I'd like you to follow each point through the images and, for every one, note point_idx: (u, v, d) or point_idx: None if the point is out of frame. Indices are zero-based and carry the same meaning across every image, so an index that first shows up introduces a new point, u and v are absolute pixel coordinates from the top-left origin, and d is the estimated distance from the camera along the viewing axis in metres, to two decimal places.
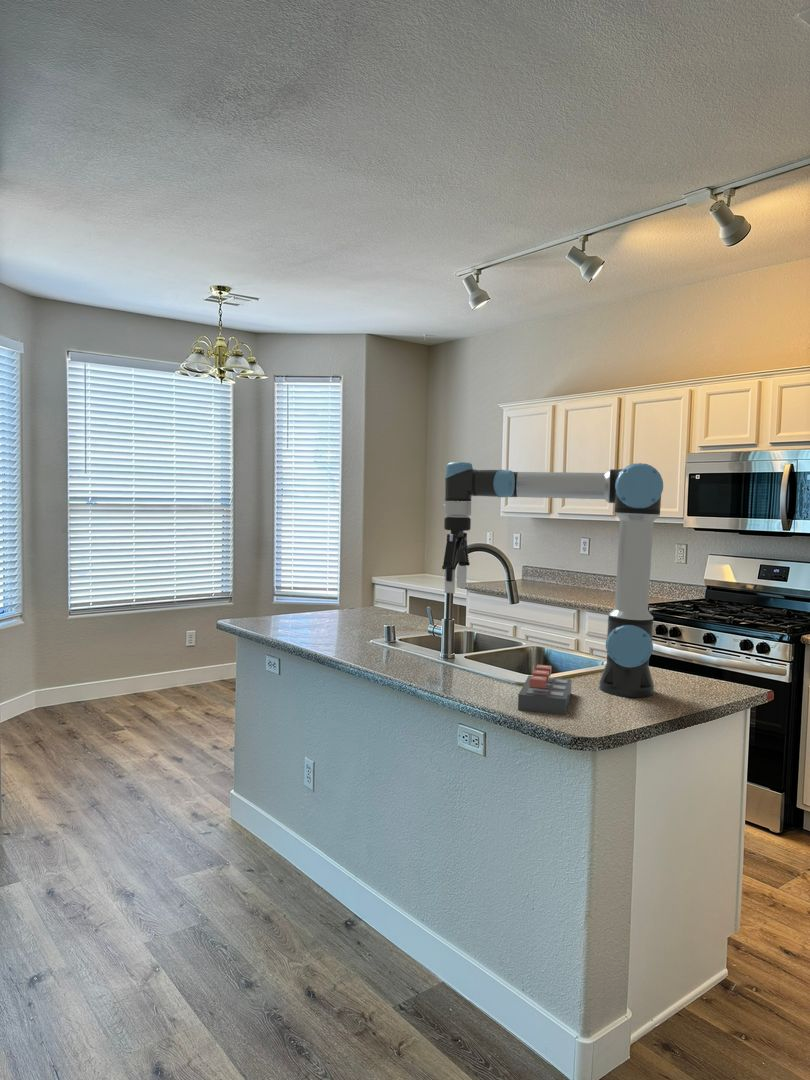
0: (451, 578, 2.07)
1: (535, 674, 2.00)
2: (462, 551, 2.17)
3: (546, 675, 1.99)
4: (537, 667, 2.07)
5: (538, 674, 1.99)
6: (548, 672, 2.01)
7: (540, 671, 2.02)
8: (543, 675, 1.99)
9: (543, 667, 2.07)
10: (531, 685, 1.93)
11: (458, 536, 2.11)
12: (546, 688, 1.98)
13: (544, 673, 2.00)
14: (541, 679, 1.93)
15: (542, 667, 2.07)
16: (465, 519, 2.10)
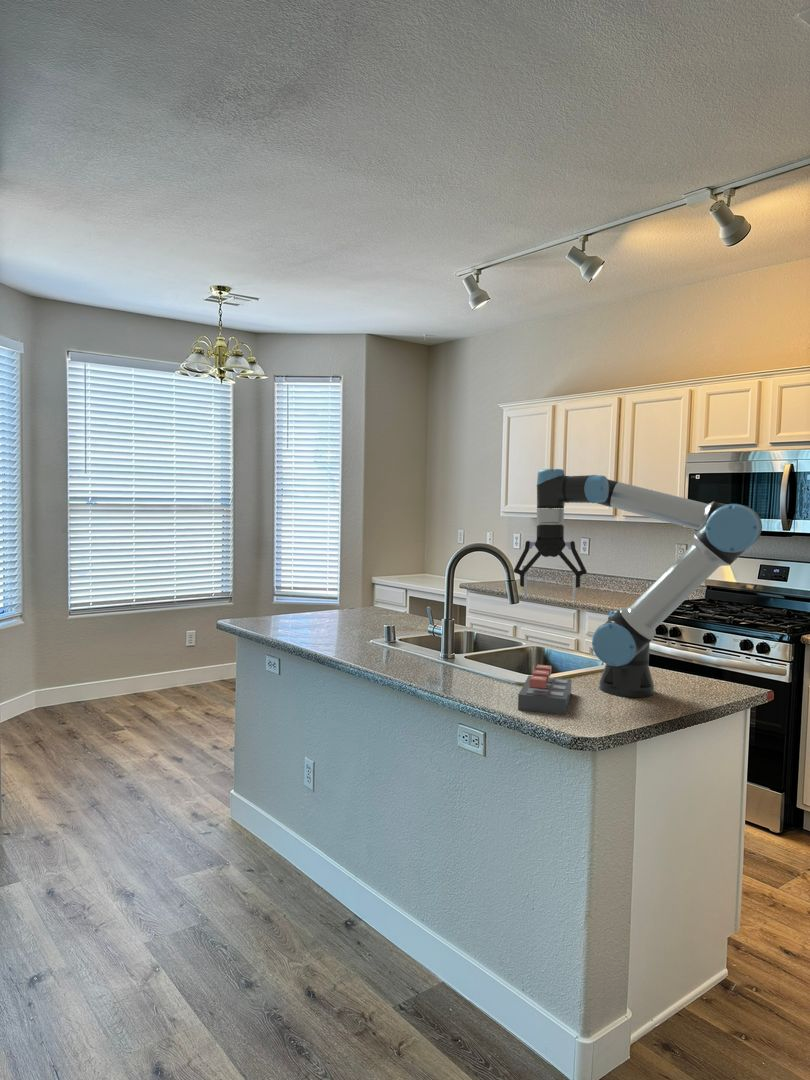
0: (522, 583, 2.12)
1: (535, 674, 2.00)
2: None
3: (546, 675, 1.99)
4: (537, 667, 2.07)
5: (538, 674, 1.99)
6: (548, 672, 2.01)
7: (540, 671, 2.02)
8: (543, 675, 1.99)
9: (543, 667, 2.07)
10: (531, 685, 1.93)
11: (540, 543, 2.11)
12: (546, 688, 1.98)
13: (544, 673, 2.00)
14: (541, 679, 1.93)
15: (542, 667, 2.07)
16: (541, 526, 2.09)
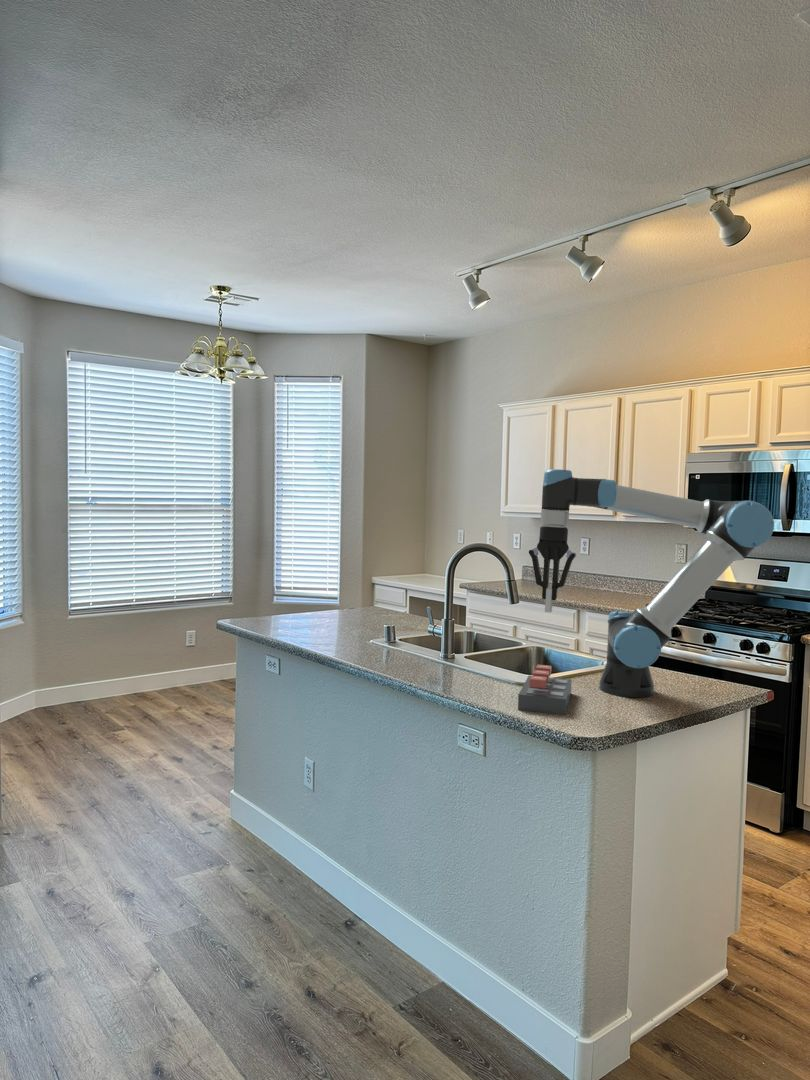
0: (544, 596, 2.05)
1: (535, 674, 2.00)
2: None
3: (546, 675, 1.99)
4: (537, 667, 2.07)
5: (538, 674, 1.99)
6: (548, 672, 2.01)
7: (540, 671, 2.02)
8: (543, 675, 1.99)
9: (543, 667, 2.07)
10: (531, 685, 1.93)
11: (541, 545, 2.04)
12: (546, 688, 1.98)
13: (544, 673, 2.00)
14: (541, 679, 1.93)
15: (542, 667, 2.07)
16: (543, 528, 2.02)
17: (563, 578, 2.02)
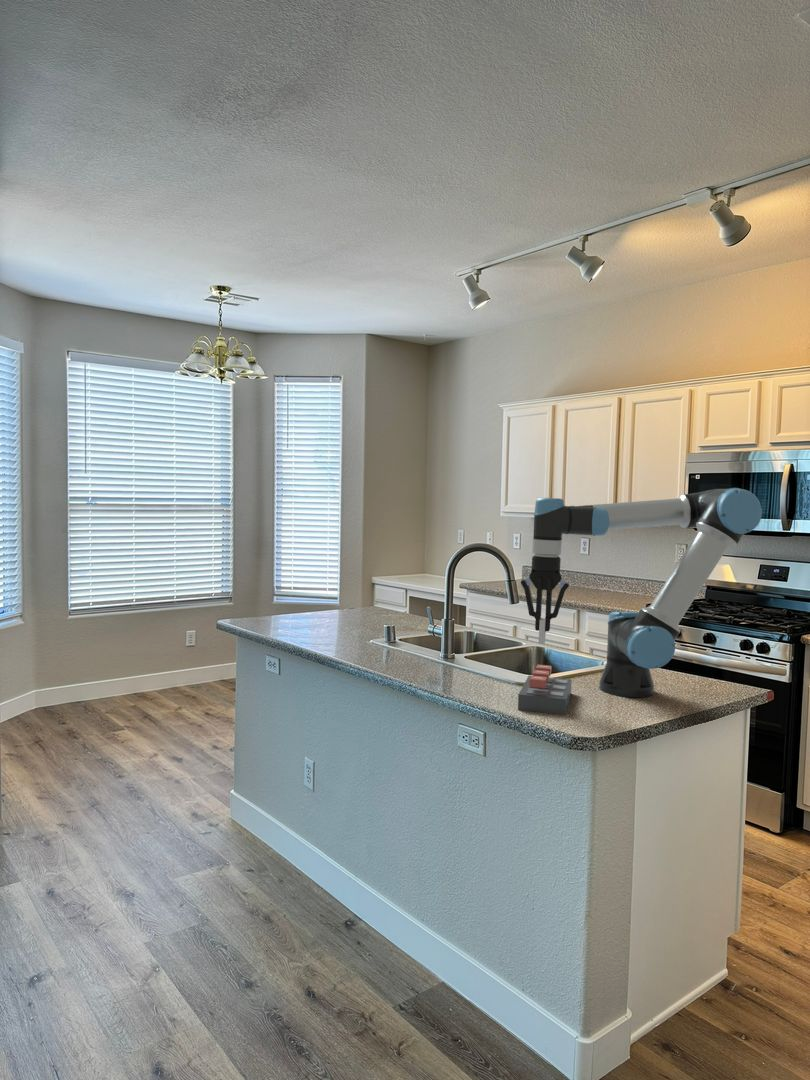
0: (537, 627, 2.00)
1: (535, 674, 2.00)
2: None
3: (546, 675, 1.99)
4: (537, 667, 2.07)
5: (538, 674, 1.99)
6: (548, 672, 2.01)
7: (540, 671, 2.02)
8: (543, 675, 1.99)
9: (543, 667, 2.07)
10: (531, 685, 1.93)
11: (533, 575, 1.99)
12: (546, 688, 1.98)
13: (544, 673, 2.00)
14: (541, 679, 1.93)
15: (542, 667, 2.07)
16: (536, 558, 1.97)
17: (557, 609, 1.98)
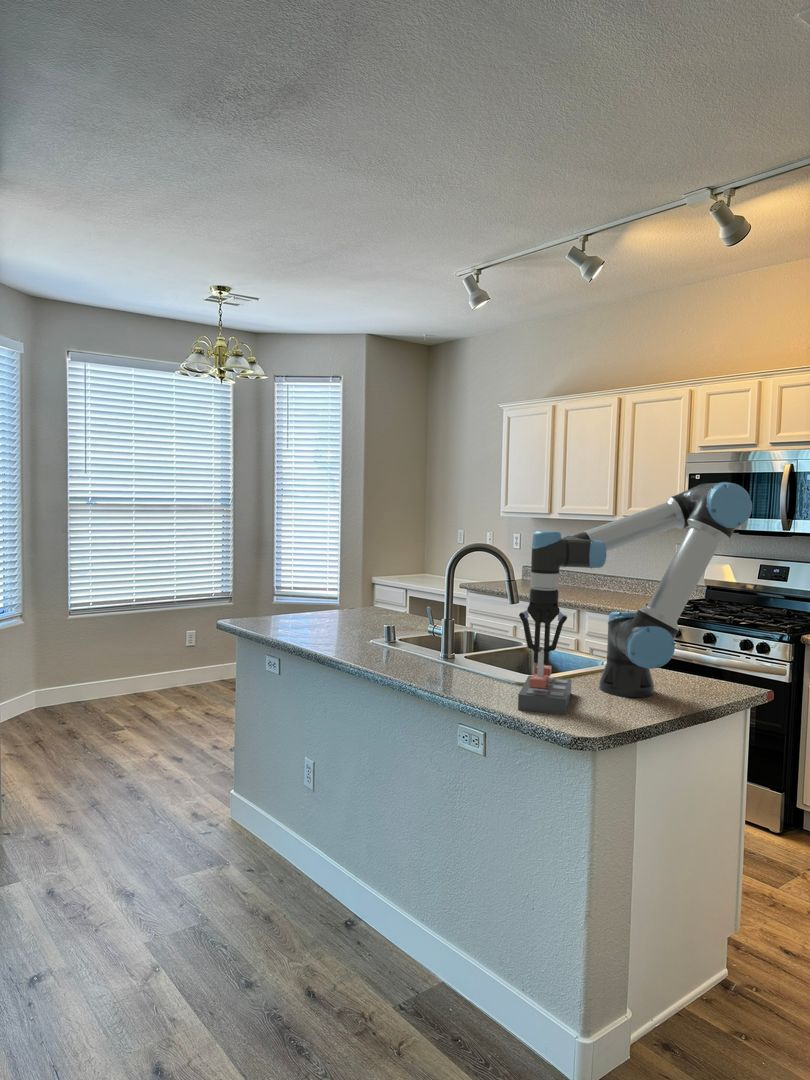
0: (535, 660, 2.01)
1: None
2: None
3: None
4: (537, 667, 2.07)
5: None
6: (548, 676, 2.01)
7: None
8: None
9: None
10: (531, 685, 1.93)
11: (532, 608, 2.00)
12: (546, 688, 1.98)
13: None
14: (541, 679, 1.93)
15: None
16: (534, 591, 1.98)
17: (555, 641, 1.99)
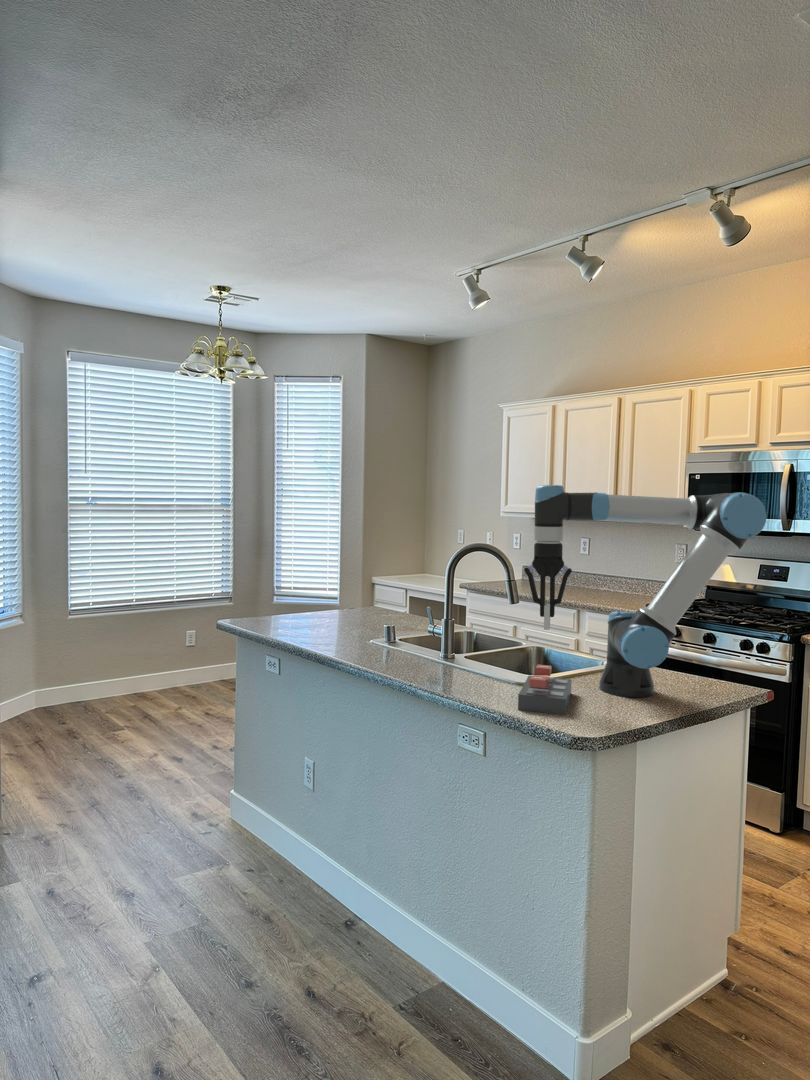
0: (542, 613, 2.02)
1: None
2: (550, 582, 2.01)
3: None
4: (537, 667, 2.07)
5: None
6: (548, 677, 2.01)
7: None
8: None
9: (543, 667, 2.07)
10: (531, 685, 1.93)
11: (536, 562, 2.01)
12: (546, 688, 1.98)
13: None
14: (541, 679, 1.93)
15: (542, 667, 2.07)
16: (539, 545, 1.99)
17: (561, 594, 2.00)
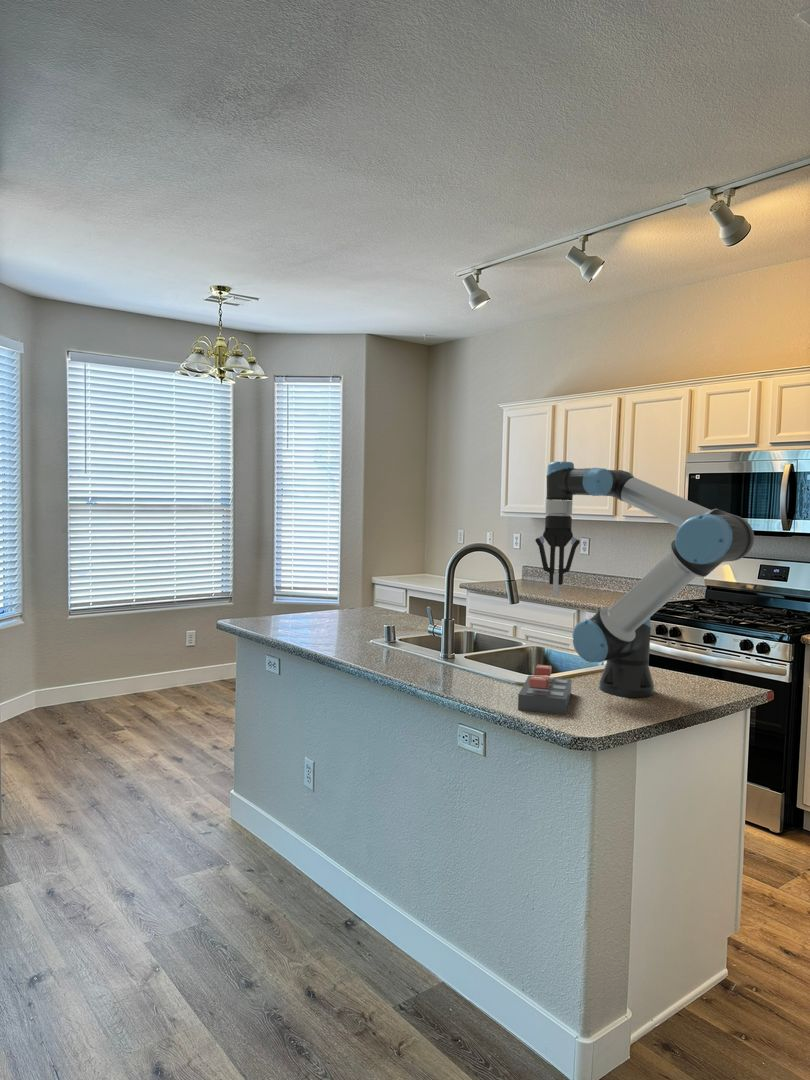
0: (551, 581, 2.17)
1: None
2: (559, 552, 2.16)
3: None
4: (537, 667, 2.07)
5: None
6: (548, 677, 2.01)
7: None
8: None
9: (543, 667, 2.07)
10: (531, 685, 1.93)
11: (547, 533, 2.17)
12: (546, 688, 1.98)
13: None
14: (541, 679, 1.93)
15: (542, 667, 2.07)
16: (549, 517, 2.14)
17: (569, 563, 2.15)
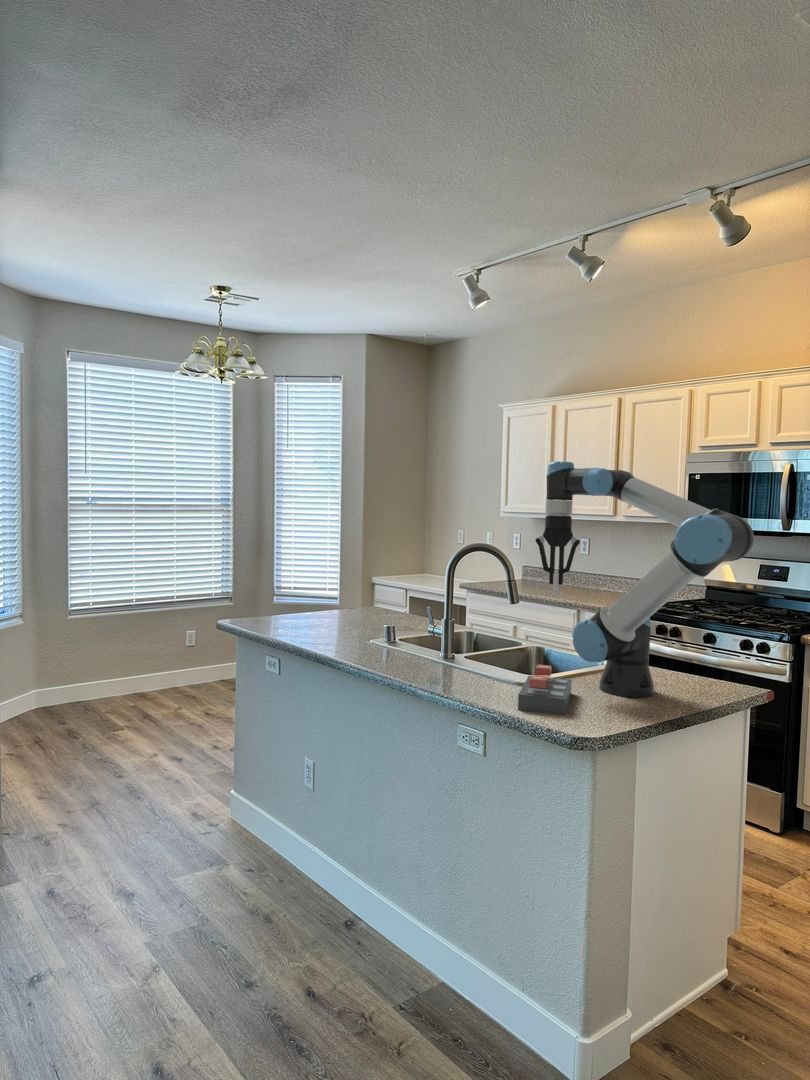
0: (551, 581, 2.17)
1: None
2: (559, 552, 2.16)
3: None
4: (537, 667, 2.07)
5: None
6: (548, 677, 2.01)
7: None
8: None
9: (543, 667, 2.07)
10: (531, 685, 1.93)
11: (547, 533, 2.17)
12: (546, 688, 1.98)
13: None
14: (541, 679, 1.93)
15: (542, 667, 2.07)
16: (549, 517, 2.14)
17: (569, 563, 2.15)
